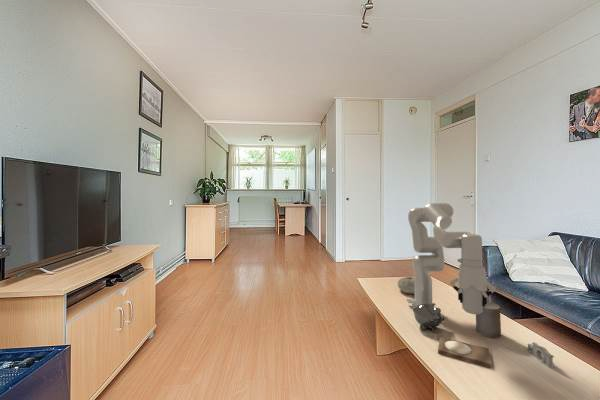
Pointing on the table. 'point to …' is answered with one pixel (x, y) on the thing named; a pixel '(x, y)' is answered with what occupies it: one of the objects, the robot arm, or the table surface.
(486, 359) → the board
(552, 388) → the table surface
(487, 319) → the pillar candle
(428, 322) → the piggy bank
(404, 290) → the decorative shell
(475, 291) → the can
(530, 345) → the lattice window wall
